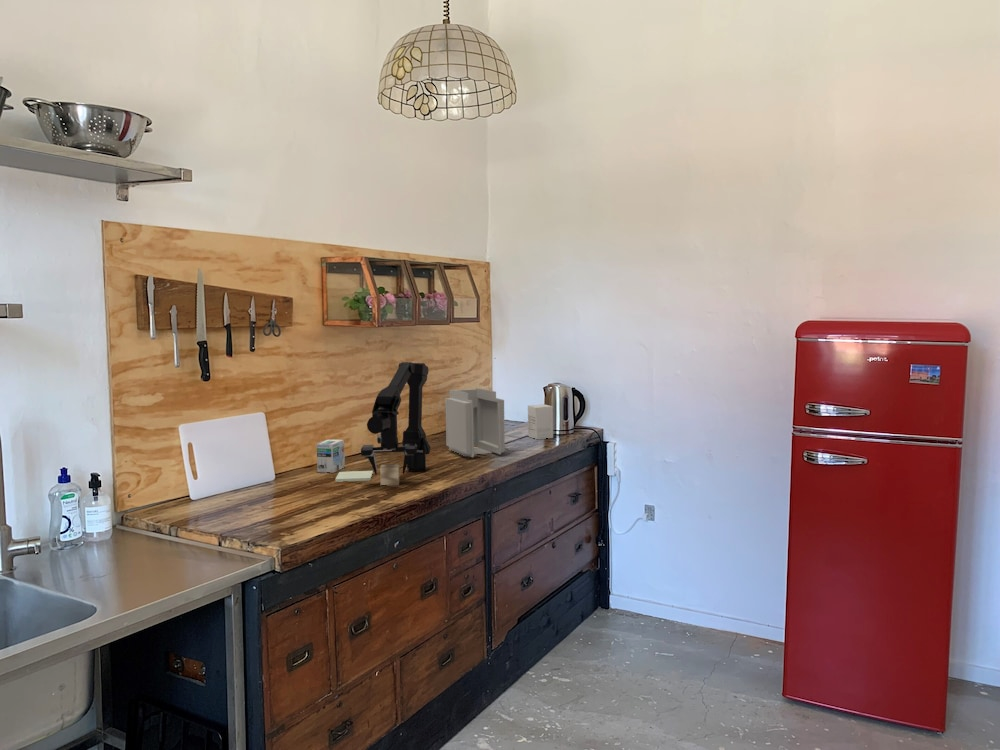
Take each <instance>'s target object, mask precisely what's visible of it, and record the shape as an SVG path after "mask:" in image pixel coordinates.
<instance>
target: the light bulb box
mask: <svg viewBox="0 0 1000 750" xmlns="http://www.w3.org/2000/svg"><path fill="white" fill-rule="evenodd" d="M345 452H346V451H345V440H344V439H332V438H331V439H330V438H329V439H325V440H323V441H321V442H318V443H316V460H317V462H316V463H317V465H316V467H317V473H327V472H330V474H331V473H333V474H334V473H336V472H338V471H340V470H342V468H343V469H345V468H346V461H345V460H346V457H345ZM344 467H345V468H344Z"/></svg>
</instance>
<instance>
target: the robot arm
mask: <svg viewBox="0 0 1000 750" xmlns="http://www.w3.org/2000/svg"><path fill="white" fill-rule="evenodd" d="M428 375H429V367H428V366H427V365H426V363H425V362H412V361H409V362H408V361H402V362H399V364H398V368H397V370H396V372H395V374H394V375H393V377H392V379H391V380H390V382H389V384H388V386H386V387H384V388H382V389H381V390H380V391H379V393H378V394H377V395H376V398H375V400H374V404H373V407H372V411H371V417H370V418H369V419H368V420H367V422H366V428H367V430H368V431H369V433H371V434H374V435H376V436H377V441H376V442H377V444H378V445H379V444H380V446H374V444H363V445H362V447H361V448H360V455H361V456H362V457H364V458H365V459H368V461H369V463H370V465H371V467H372V471H373V473H374V475H375V476H378V469H377V462H376V453H403V454H404V456H403V457H404V458H403V467H402V475H405V473H406V469H407V471H408V472H424V471H423V470H426V471H427V465H426V464H427V463H426V462H427V460H426V459H427V458H426V455H430V454H431V453H430V452H431V445H430V444H429V442H428V439H427V437H426V436H427V435H426V431H425V430H424V428H423V427H422V422H423V421H422V418H423V417H422V416H423V415H422V414H423V412H422V411H423V387H424V386H425V384H426V383H427V381H428ZM406 384H407V385H408V388H409V389H408V390H409V391H408V422H407V423H408V425H407V427H406V429H405V430H403V432H402V442H401V443H402V446H399V437H398V415H399V414H400V412H399V410H398V409H399V407H400V405H401V403H402V402H401V401H402V398H401V394H402V392H403V390H404V388H405V386H406Z"/></svg>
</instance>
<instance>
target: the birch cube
mask: <svg viewBox="0 0 1000 750" xmlns="http://www.w3.org/2000/svg"><path fill="white" fill-rule="evenodd" d="M379 473H380V474H379V475H380V486H381V485H387V486H399V485H400V464H397V463H396V464H380V469H379Z"/></svg>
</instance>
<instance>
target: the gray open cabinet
mask: <svg viewBox="0 0 1000 750" xmlns="http://www.w3.org/2000/svg"><path fill="white" fill-rule="evenodd" d="M505 433H506V432H505V399H503V398H497V391H494V390H489V389H484V388H481V387H475V388H473V389H458V390H457V389H456V390H455V389H449V397H445V436H446V437H445V439H446V440H445V443H446V445H445V446H446V447H448V450H449V449H450V450H452V451H454V452H453V453H455V452H457V453H459V454H458V455H460V454H461V455H460V456H462V455H463V456H462V457H471V458H474V457H475V456H477V455H476V454H483V455H487V454H486V453H492V454H493V453H495V454H497V455H501V454H502V453H504V452H506V447H505V445H506V444H505V443H506V441H505ZM474 447H478V448H474ZM450 450H449V451H450ZM452 451H451V452H452ZM457 453H456V454H457Z"/></svg>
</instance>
